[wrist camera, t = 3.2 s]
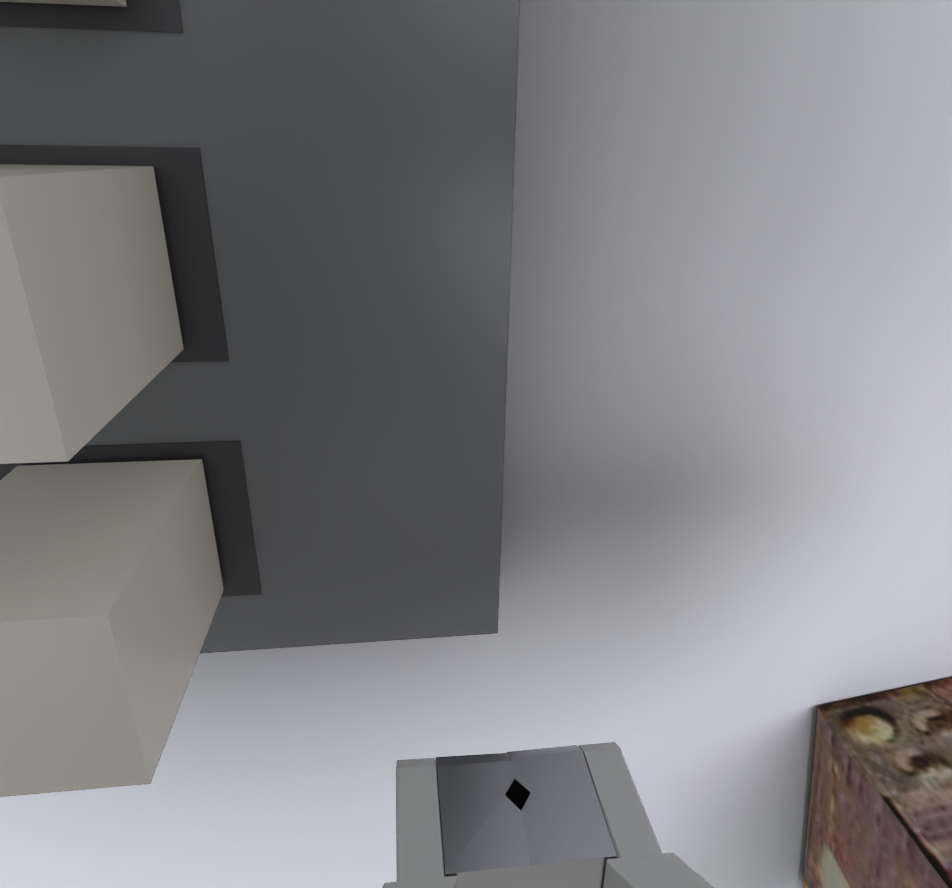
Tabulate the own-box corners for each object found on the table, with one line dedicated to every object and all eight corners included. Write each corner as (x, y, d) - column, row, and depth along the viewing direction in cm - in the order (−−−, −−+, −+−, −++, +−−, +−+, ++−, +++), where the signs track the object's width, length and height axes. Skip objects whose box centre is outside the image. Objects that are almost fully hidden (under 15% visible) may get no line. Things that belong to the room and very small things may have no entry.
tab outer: (17, 465, 13) (-180, 632, 9) (202, 458, 14) (107, 615, 9) (56, 599, 14) (-97, 804, 10) (223, 589, 15) (150, 783, 10)
